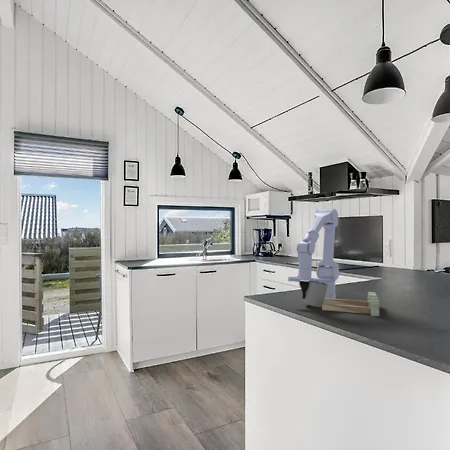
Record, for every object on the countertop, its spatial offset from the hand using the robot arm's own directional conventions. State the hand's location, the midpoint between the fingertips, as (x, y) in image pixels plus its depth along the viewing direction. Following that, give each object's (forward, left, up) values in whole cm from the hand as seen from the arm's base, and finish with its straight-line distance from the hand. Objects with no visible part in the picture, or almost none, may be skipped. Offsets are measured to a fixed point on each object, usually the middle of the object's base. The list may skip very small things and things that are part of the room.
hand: (304, 298), depth 158 cm
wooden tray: (-1, +18, -3) cm, 19 cm away
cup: (-1, +4, -2) cm, 5 cm away
